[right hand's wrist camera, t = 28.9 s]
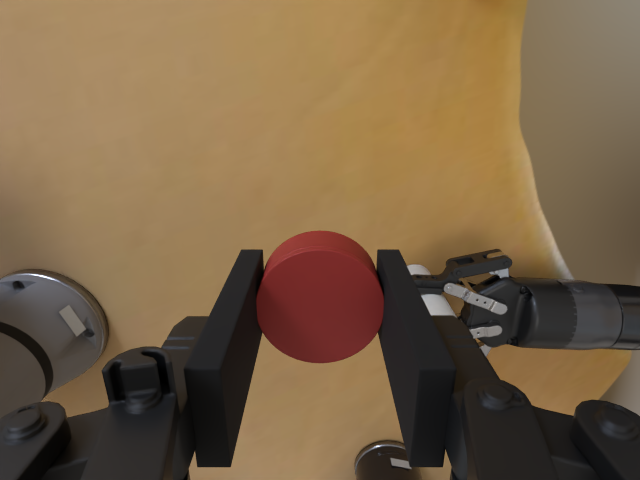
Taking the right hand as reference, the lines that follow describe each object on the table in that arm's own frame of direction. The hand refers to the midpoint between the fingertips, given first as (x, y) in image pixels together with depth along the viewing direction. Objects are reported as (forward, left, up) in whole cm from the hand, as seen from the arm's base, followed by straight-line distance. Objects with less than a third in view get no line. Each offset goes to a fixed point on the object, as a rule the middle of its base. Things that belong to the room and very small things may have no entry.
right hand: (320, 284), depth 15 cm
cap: (0, 0, +2) cm, 2 cm away
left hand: (-5, -17, -25) cm, 31 cm away
